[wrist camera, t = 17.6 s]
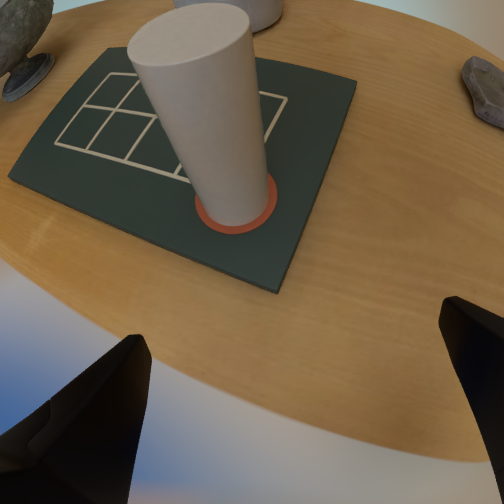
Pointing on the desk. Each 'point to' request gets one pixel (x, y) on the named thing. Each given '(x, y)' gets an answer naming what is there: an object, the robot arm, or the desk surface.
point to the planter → (248, 10)
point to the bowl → (23, 44)
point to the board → (172, 173)
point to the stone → (485, 89)
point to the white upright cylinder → (208, 104)
